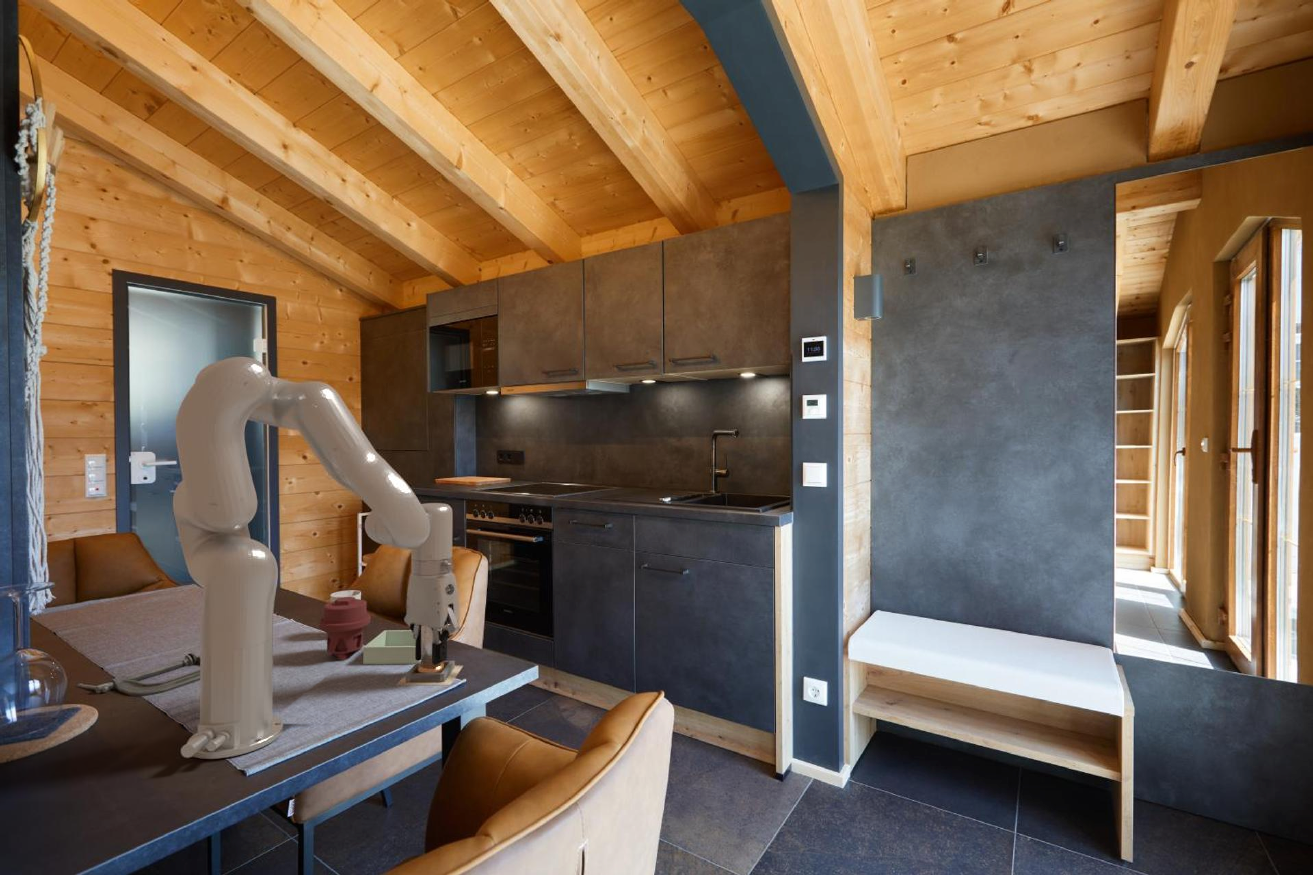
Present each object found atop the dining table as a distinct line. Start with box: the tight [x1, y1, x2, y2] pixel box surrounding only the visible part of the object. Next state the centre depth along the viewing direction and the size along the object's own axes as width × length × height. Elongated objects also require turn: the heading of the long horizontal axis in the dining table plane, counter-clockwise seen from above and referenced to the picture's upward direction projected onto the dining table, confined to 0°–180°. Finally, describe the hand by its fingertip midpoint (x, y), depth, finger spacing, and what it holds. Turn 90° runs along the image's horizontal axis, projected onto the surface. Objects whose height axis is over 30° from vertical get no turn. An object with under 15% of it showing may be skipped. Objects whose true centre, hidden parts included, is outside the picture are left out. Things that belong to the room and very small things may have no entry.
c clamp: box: [76, 652, 200, 697], centre depth 123 cm, size 20×17×3 cm
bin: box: [362, 629, 421, 665], centre depth 134 cm, size 11×11×5 cm
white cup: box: [330, 589, 362, 602], centre depth 150 cm, size 7×7×10 cm
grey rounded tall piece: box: [418, 625, 444, 673], centre depth 122 cm, size 5×5×13 cm
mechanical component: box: [318, 597, 371, 661], centre depth 136 cm, size 12×10×10 cm
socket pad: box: [395, 660, 464, 687], centre depth 122 cm, size 10×10×3 cm
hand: (431, 659), depth 122 cm, fingers closed on grey rounded tall piece, 3 cm apart
